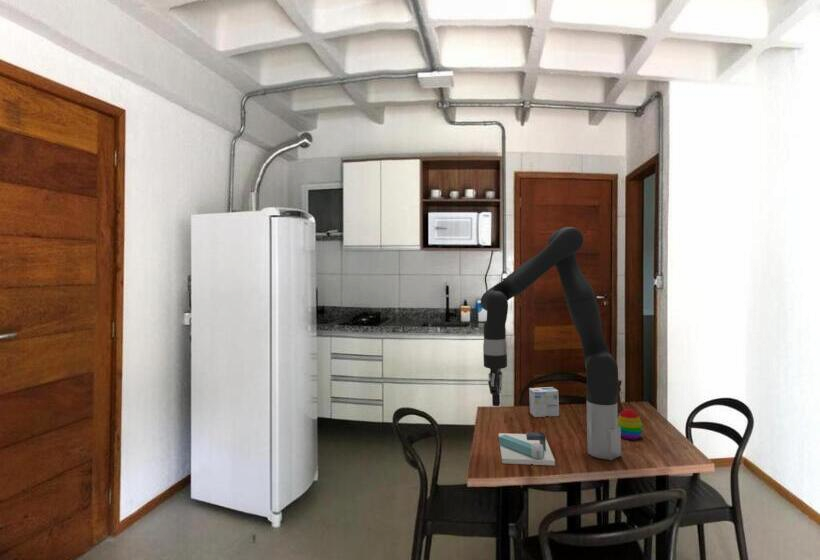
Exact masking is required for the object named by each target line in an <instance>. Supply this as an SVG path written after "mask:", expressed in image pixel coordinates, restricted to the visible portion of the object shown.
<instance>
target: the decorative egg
mask: <svg viewBox="0 0 820 560" xmlns="http://www.w3.org/2000/svg"><path fill="white" fill-rule="evenodd" d="M618 426H620V427H621V438H623V439H625V440H626V439H627V440H633V441H634V440H637V439H639V437H641V435H642V433H643V423H642V420H641V418H640V416H639V415H638V413H637V412H636V411H634V410H633V409H632V408H625V409H624V410H623V411H622V412H621V413H620V415H619V416H618Z"/></svg>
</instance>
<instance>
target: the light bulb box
mask: <svg viewBox="0 0 820 560" xmlns="http://www.w3.org/2000/svg"><path fill="white" fill-rule="evenodd" d="M528 391H529V392H528V393H529V394H528V395H529V413H530V414H531V415H532V416H533V418H546V416H548V417H559V416H560V404H559V403H560V401H559V399H560V398H559V390H558V389H557V388H555V387H554V386H547V387H529V388H528Z"/></svg>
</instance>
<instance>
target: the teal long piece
mask: <svg viewBox="0 0 820 560" xmlns="http://www.w3.org/2000/svg"><path fill="white" fill-rule="evenodd" d="M498 444H499V445H500V444H501V445H503V446H506V447H508V448H511V449H514V450H516V451H519V452H521V453H524V454H526V455H529V456H531V457H533V458H536V459H541V458H543V457H544V449H543V445H542V444H539V443H533V444H530V443H527V442H524V441H522V440H519V439H516V438H513V437H511V436H508V435H502V436H499V435H498Z"/></svg>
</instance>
